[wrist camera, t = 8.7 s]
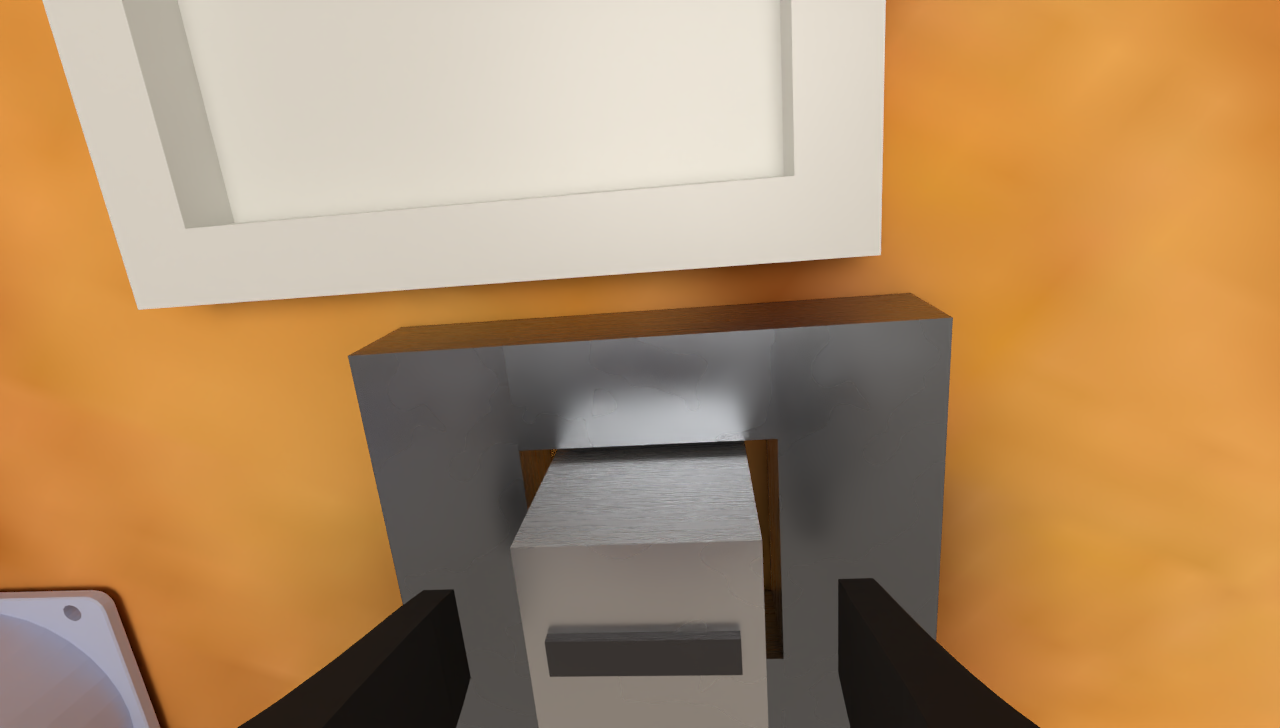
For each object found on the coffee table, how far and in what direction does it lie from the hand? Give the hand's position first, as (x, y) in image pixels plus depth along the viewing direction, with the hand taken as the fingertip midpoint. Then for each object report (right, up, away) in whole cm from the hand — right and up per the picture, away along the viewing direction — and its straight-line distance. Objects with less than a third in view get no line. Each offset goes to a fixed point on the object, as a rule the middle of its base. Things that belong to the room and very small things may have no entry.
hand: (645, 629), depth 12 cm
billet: (0, +2, +4) cm, 5 cm away
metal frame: (+1, -3, +6) cm, 7 cm away
